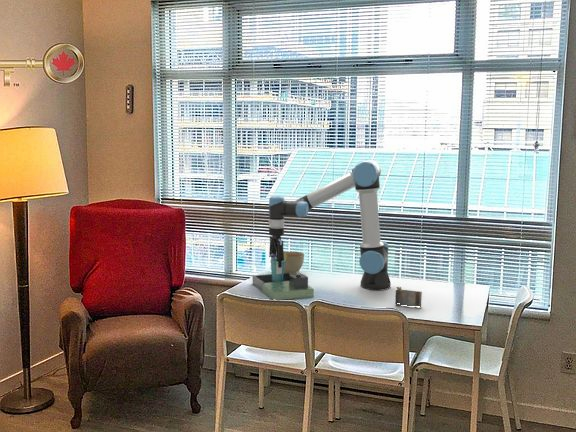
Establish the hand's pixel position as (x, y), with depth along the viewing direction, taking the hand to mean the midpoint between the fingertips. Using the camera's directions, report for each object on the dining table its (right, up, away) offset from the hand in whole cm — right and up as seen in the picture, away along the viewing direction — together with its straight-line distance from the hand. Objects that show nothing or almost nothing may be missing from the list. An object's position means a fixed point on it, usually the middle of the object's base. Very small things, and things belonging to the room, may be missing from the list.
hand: (276, 271), depth 326 cm
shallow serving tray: (+3, -9, -7) cm, 11 cm away
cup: (0, -5, +1) cm, 5 cm away
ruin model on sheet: (+60, -14, -33) cm, 70 cm away
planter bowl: (+7, -4, +28) cm, 29 cm away
